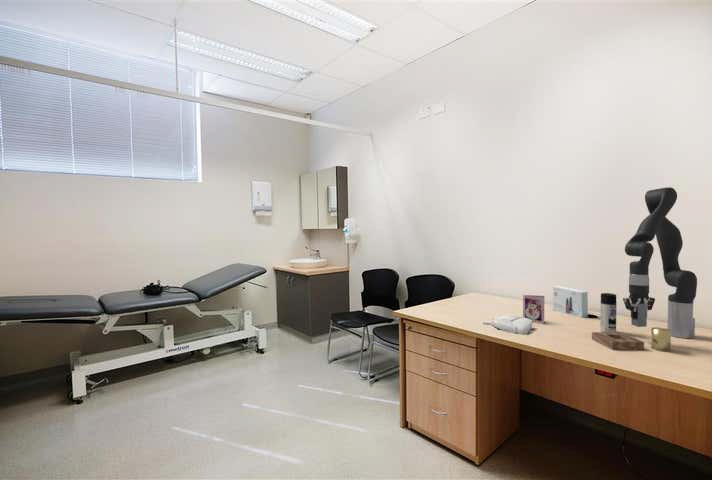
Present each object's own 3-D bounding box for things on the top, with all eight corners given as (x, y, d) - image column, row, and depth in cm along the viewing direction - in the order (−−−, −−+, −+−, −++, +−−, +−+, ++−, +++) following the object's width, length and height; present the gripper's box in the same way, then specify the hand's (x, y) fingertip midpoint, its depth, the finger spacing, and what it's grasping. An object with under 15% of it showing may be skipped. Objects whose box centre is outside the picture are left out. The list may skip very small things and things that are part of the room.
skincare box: (551, 309, 226) (552, 286, 225) (558, 309, 227) (558, 285, 227) (581, 318, 206) (581, 291, 205) (588, 317, 207) (588, 291, 207)
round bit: (661, 346, 157) (662, 327, 156) (674, 351, 150) (675, 331, 150) (647, 346, 157) (647, 327, 157) (659, 351, 150) (659, 331, 150)
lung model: (527, 335, 174) (478, 331, 189) (534, 328, 187) (487, 324, 203) (526, 322, 174) (477, 319, 189) (533, 316, 188) (486, 313, 203)
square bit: (639, 324, 166) (639, 301, 165) (646, 326, 162) (646, 303, 161) (631, 324, 166) (631, 302, 166) (638, 326, 162) (638, 303, 162)
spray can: (609, 334, 175) (610, 295, 174) (596, 330, 181) (597, 293, 180) (619, 333, 176) (620, 294, 176) (606, 329, 183) (607, 292, 182)
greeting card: (522, 320, 202) (522, 295, 201) (527, 318, 206) (527, 293, 206) (543, 324, 193) (543, 298, 192) (548, 321, 198) (548, 296, 197)
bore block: (621, 339, 167) (621, 332, 167) (644, 349, 153) (644, 342, 153) (591, 339, 167) (591, 332, 167) (612, 349, 153) (612, 341, 153)
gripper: (647, 281, 167) (647, 316, 167) (617, 282, 167) (618, 317, 168) (660, 284, 159) (660, 320, 160) (629, 285, 160) (630, 321, 160)
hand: (638, 318), depth 164 cm, fingers closed on square bit, 4 cm apart
